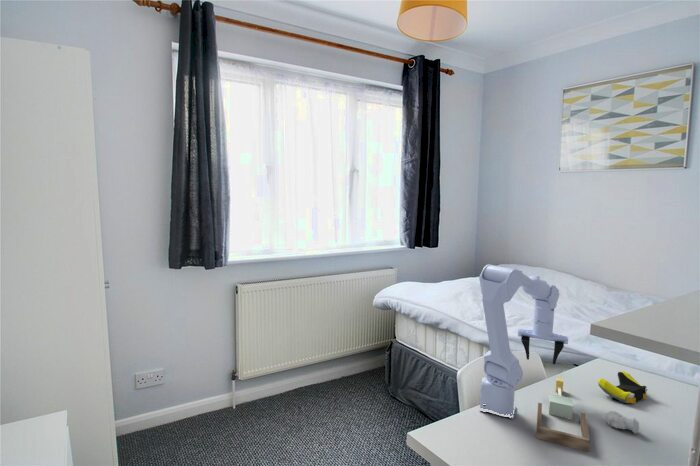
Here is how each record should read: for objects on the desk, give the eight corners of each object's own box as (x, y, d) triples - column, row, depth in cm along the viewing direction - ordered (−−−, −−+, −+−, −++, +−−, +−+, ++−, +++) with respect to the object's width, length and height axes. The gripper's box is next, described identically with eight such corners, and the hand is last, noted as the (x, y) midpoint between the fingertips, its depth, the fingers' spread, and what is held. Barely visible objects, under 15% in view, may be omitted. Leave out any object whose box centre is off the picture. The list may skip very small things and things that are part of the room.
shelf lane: (536, 438, 105) (536, 427, 105) (537, 412, 118) (538, 402, 117) (588, 451, 100) (589, 440, 100) (584, 423, 112) (585, 413, 112)
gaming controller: (593, 394, 129) (626, 409, 120) (595, 377, 129) (628, 391, 120) (620, 384, 136) (653, 397, 127) (621, 368, 136) (654, 381, 127)
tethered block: (548, 414, 117) (549, 401, 116) (548, 387, 132) (549, 376, 132) (572, 419, 114) (573, 406, 114) (569, 392, 130) (570, 380, 129)
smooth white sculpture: (602, 427, 113) (611, 417, 115) (633, 442, 106) (643, 431, 108) (600, 414, 112) (610, 404, 114) (632, 429, 105) (641, 418, 107)
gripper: (568, 320, 128) (565, 360, 129) (519, 313, 134) (517, 352, 136) (569, 326, 122) (566, 369, 123) (518, 319, 128) (516, 359, 130)
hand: (540, 360), depth 129 cm, fingers open, 7 cm apart
